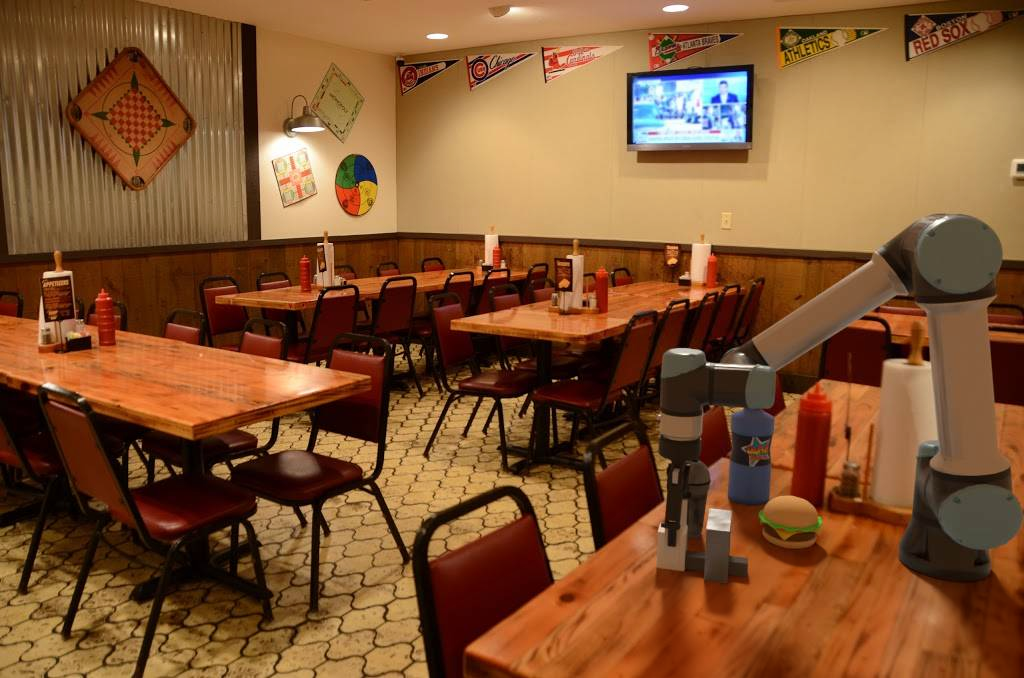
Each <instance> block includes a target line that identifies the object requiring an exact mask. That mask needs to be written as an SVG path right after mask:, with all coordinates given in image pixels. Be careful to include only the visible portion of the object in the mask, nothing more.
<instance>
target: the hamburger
mask: <svg viewBox="0 0 1024 678" xmlns="http://www.w3.org/2000/svg"><path fill="white" fill-rule="evenodd" d="M764 505H765V506H764V507H763V509H760V511H759V512H758V518H759V519H760V521H759V525H760V526H762V525H763V528H762V535H763V537H764V538H765V540H766V541H767V542H769V543H771V544H772V545H774V546H778V547H781V548H784V549H793V550H794V549H795V550H798V549H799V550H800V549H807V548H810V547H811V546H813V545H814V544H815V542H816V541H817V536H820V535H821V526H822V525H823V519H822V516H821V517H820V516H819V514H818V511H817V510H816V509H817V508H815V506H814V505H813V504H812V503H810V501H808V500H806V499H804V498H801V497H797V496H794V495H780V496H779V495H778V496H776V497H774V498H772V499H769V501H768V503H766V504H764ZM816 534H817V535H816Z"/></svg>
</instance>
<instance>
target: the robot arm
mask: <svg viewBox="0 0 1024 678" xmlns="http://www.w3.org/2000/svg"><path fill="white" fill-rule="evenodd" d="M1002 245H1003V244H1002V243H1001V240H1000V238H999V235H998V234H997V233H996V232H995V230H994V229H993V228H992V227H991V226H990V225H989V224H987V223H986V222H984V221H983V220H981V219H978V218H977V217H974V216H972V215H968V214H962V213H954V214H953V213H952V214H951V213H932V214H929V215H925V216H923V217H921V218H919V219H916V220H915V221H914V222H912V223H911V224H910V225H908V226H906V227H905V229H903V230H902V231H901V232H899V233H898V234H897V235H895V236H893V238H892V239H889V241H887V242H886V243H884V244H883V245H882V246H880V247H878V248H877V249H876V250H874V251H873V253H872V256H871V258H870V261H868V262H867V263H865V264H864V265H862V266H861V267H859V268H858V269H856V270H854V271H853V272H851V273H850V274H848V275H847V276H845V277H844V278H842V279H841V280H839V281H838V282H836V283H834V284H833V285H831V286H830V287H829V288H826V290H824V291H822V292H821V293H819V294H818V295H816V296H815V297H814V298H812V299H811V300H808V301H807V302H806V303H804V304H803V305H801V306H800V307H798V308H797V309H795V310H794V311H792V312H791V313H789V314H788V315H786V316H784V317H783V318H782V319H779V320H778V321H777V322H776V323H774V324H773V325H771V326H770V327H768V328H767V329H765V330H763V331H762V332H760V333H759V334H757V335H756V336H754V337H753V338H752V339H750V340H749V341H747V342H745V343H744V344H742V345H740V346H737V347H735V348H731V349H729V350H727V352H725V353H724V355H723V356H722V358H721V359H720V362H719V363H717V362H711V361H710V362H709V361H707V359H706V354H705V352H704V351H703V350H700V349H695V348H694V349H692V348H689V347H688V348H687V347H685V348H684V347H683V348H681V347H677V348H671V349H668V350H666V351H665V352H664V353H663V355H662V361H661V371H660V393H659V395H660V401H659V402H660V403H659V408H660V409H659V410H660V411H659V414H657V415H656V420H657V421H660V422H659V427H658V428H659V433H660V434H659V435H658V445H657V446H658V451H657V453H658V454H659V456H660V457H661V458H663V459H666V460H667V459H668V460H669V461H671V462H668V464H667V466H666V477H667V478H666V502H665V503H666V504H665V515H664V522H662V523H661V527H662V528H665V538H664V562H671V563H679V562H680V539H681V525H686V524H687V502H688V500H687V499H684V498H689V499H691V493H689V492H688V490H689V487H688V481H689V474H690V468H691V465H689V464H688V461H693V460H696V459H697V460H699V458H700V457H701V454H702V438H701V435H703V421H704V420H703V419H704V418H703V417H704V412H703V411H704V405H705V406H706V405H707V406H717V407H730V408H731V407H732V408H740V409H741V408H750V409H771V408H772V407H773V406H774V404H775V397H776V382H777V381H776V380H777V379H776V378H777V377H776V373H777V371H779V370H780V369H782V368H784V367H786V366H787V365H789V364H790V363H792V362H793V361H795V360H796V359H798V358H800V357H801V356H803V355H804V354H806V353H807V352H809V351H810V350H812V349H814V348H815V347H817V346H819V345H820V344H822V343H824V342H825V341H827V340H828V339H830V338H831V337H833V336H834V335H835V334H837V333H839V332H840V331H842V330H844V329H846V328H847V327H849V326H850V325H852V324H853V323H855V322H857V321H859V320H860V319H862V318H863V317H864V316H866V315H867V314H869V313H870V312H872V311H874V310H875V309H877V308H878V307H880V306H882V305H883V304H884V303H886V302H888V301H890V300H891V299H893V298H894V297H896V296H897V295H898V296H909V295H910V294H912V293H913V297H914V303H915V304H916V305H917V306H918V307H919V308H920V309H922V310H923V311H924V312H925V313H926V324H927V335H928V346H929V357H930V366H931V367H930V369H931V378H932V379H931V380H932V391H933V401H934V411H935V412H934V413H935V423H936V424H935V425H936V433H937V434H936V435H937V440H936V439H933V440H925V441H923V442H921V443H920V444H919V445H918V448H917V454H916V456H915V459H916V464H915V476H914V489H913V497H912V498H913V499H912V513H911V518H910V521H909V523H908V525H907V526H906V529H905V530H904V532H903V534H902V537H901V538H900V540H899V543H898V553H897V557H898V558H899V561H900V562H901V563H903V564H904V565H905V566H906V567H908V568H910V569H911V570H913V571H916V572H918V573H921V574H924V575H925V576H926V575H927V576H929V577H933V578H938V579H941V580H945V581H946V580H947V581H955V582H956V581H957V582H974V581H975V582H976V581H980V580H983V579H985V578H987V577H989V575H990V574H991V567H992V566H991V564H992V558H991V555H990V551H989V550H992V549H997V548H1000V547H1003V546H1004V545H1006V544H1008V543H1009V542H1010V541H1012V540H1013V539H1014V538H1015V537H1016V536H1017V535H1018V533H1019V532H1020V531H1021V528H1022V527H1023V524H1024V510H1023V508H1022V506H1021V502H1020V501H1019V498H1018V497H1017V496H1016V495H1015V494H1014V490H1013V489H1014V488H1013V479H1012V468H1011V467H1012V466H1011V465H1012V464H1011V461H1010V459H1009V458H1007V457H1006V456H1005V455H1003V454H1002V453H1001V452H1000V451H999V443H998V442H999V440H998V439H999V438H998V430H997V428H998V427H997V418H996V417H997V416H996V405H995V391H994V381H993V369H992V367H993V366H992V358H991V357H992V356H991V343H990V342H991V341H990V331H989V330H990V329H989V318H988V317H989V316H988V306H989V305H991V303H992V302H993V301H994V300H995V299H996V298H998V291H997V277H996V276H997V274H998V273H999V271H1000V269H1001V266H1002V263H1003V257H1004V252H1003V246H1002Z"/></svg>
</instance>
